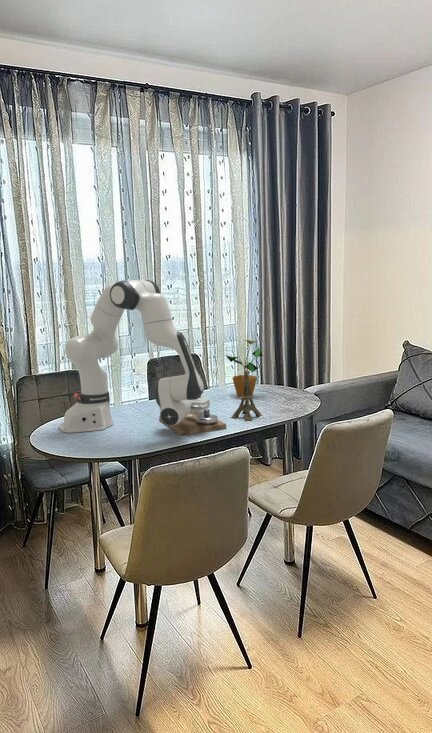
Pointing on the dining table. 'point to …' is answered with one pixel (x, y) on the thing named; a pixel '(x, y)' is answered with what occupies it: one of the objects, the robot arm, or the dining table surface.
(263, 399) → the dining table surface
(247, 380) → the eiffel tower
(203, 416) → the crank handle
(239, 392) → the potted plant
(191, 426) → the stand
